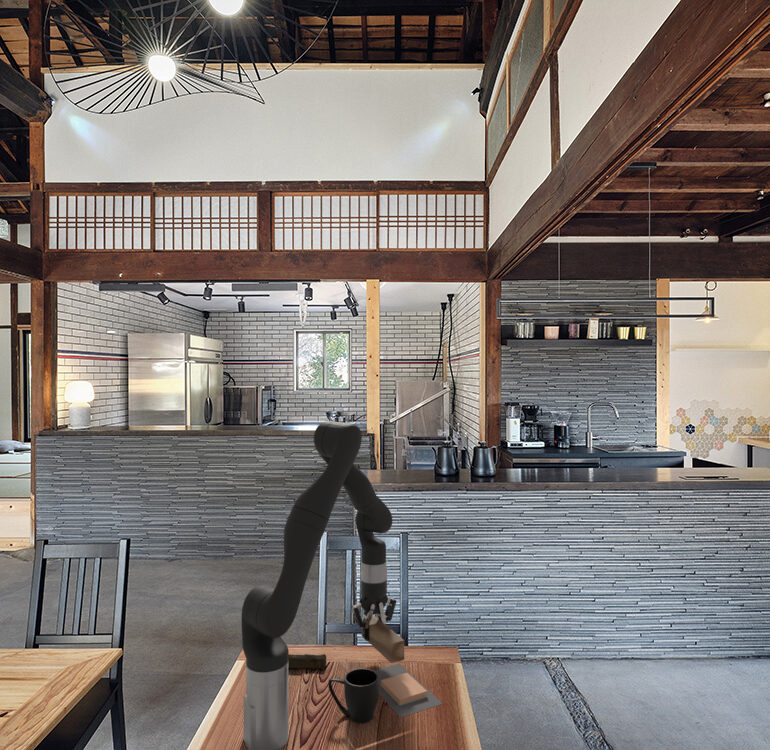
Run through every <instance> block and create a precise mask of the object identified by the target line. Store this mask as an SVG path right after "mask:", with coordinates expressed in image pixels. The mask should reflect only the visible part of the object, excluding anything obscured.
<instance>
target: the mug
mask: <svg viewBox="0 0 770 750" xmlns="http://www.w3.org/2000/svg"><path fill="white" fill-rule="evenodd" d="M335 682H336V683H338V684H339V683H340V684H342V685H343V687H344V701H345V704H346V707H345V706H343V704H342V703H341V701H340V699H339V698H338V696H337V694H336V692H335V690H334V688H333V684H332V683H335ZM327 684H328V690H329V693H330V694H331V697H332V698H333V700H334V702H335V704H336V705H337V707H338V708H339V710H340V711H341V713H342V714H343V715H344V716H345V717H349V719H350V720H351V721H352V722H353V723H356V724H365V723H369V722H371V720H373V719H374V715H375V711H376V707H377V705H378V699H379V676H378V674H377V673H376V672H375V671H374V669H371V668H370V669H369V668H366V667H365V668H364V667H363V668H360V667H359V668H355V669H352V670H349V671H347V672H346V673H345V675H344V679H343V678H338V677H332V678H329V680H328V683H327Z"/></svg>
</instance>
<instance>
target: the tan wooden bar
mask: <svg viewBox="0 0 770 750" xmlns="http://www.w3.org/2000/svg"><path fill="white" fill-rule="evenodd" d="M361 619H363V617H361ZM368 628H369V641H367V642H368V643H369V644H370V645H371V646H372V647H373V649H375V650H376V651H377V652H378V653H379V654H380V655H381V656H383V657H384V658H385V659H386V660H387V662H389V663H391V664H393V663H394V664H395V663H398V662H401V661H404V660H405V639H403V638H402V637H401V636H400V635H398V634H397V633H396V632H395V631H394V630H393V629H391V628H390V627H389V626H387V625H386V624H384V623H383V622H381V621H380V620H379V619H378V616H375V614H374V615H372V619H371V620H370V624H369V627H368Z"/></svg>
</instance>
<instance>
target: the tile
mask: <svg viewBox="0 0 770 750" xmlns="http://www.w3.org/2000/svg"><path fill="white" fill-rule="evenodd" d="M412 676H413V675H412ZM412 676H410V675H409V674H408V673H404V674H401V675H397V676H394V677H390V678H387V679H383V680H381V687H382V688H383V689H384V690H385V691H386V692H387V693H388V694H389V696H390V697H391V698H392V699H393V700H394V701H395V702H396V703H397V704H398V705H399V706H402V705H405V704H408V703H412V702H415V701H418V700H421V699H424V698H427V690H426V689H427V688H426V689H424V688H423V687H422V686H421V685H420V684H419V683H418V682H417V681H416V680H415V679H414V678H413V677H414V676H413V677H412Z"/></svg>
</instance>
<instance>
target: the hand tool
mask: <svg viewBox="0 0 770 750" xmlns="http://www.w3.org/2000/svg"><path fill="white" fill-rule="evenodd" d="M326 666H327V655H326V654H325V653H323V654H309V653H307V654H290V653H289V669H307V670H308V669H309V670H321V671H325V669H326Z"/></svg>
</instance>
